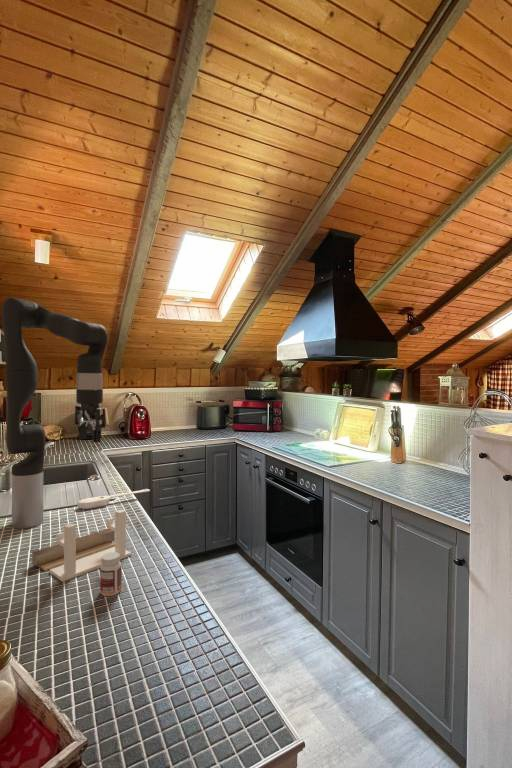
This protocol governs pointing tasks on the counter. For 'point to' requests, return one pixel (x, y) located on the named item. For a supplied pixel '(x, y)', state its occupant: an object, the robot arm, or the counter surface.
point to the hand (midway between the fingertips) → (89, 440)
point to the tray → (78, 555)
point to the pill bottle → (110, 574)
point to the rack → (92, 561)
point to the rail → (81, 545)
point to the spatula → (102, 500)
